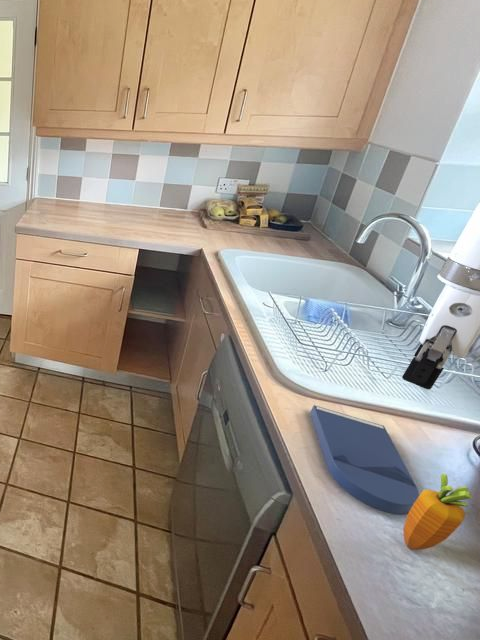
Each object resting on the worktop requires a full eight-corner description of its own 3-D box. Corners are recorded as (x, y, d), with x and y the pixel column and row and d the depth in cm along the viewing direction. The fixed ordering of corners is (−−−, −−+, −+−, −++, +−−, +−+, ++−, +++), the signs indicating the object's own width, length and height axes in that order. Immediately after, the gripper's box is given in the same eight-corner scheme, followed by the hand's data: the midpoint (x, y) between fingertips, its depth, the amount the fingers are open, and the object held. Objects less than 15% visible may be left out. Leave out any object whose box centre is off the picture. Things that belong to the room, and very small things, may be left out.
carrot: (385, 526, 69) (430, 463, 63) (426, 544, 67) (477, 481, 60) (391, 551, 66) (439, 487, 59) (435, 571, 63) (489, 507, 57)
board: (378, 434, 87) (384, 425, 86) (425, 526, 69) (433, 516, 68) (309, 413, 92) (313, 404, 91) (336, 494, 74) (342, 484, 73)
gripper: (516, 305, 52) (446, 409, 59) (523, 272, 61) (462, 364, 68) (432, 282, 57) (377, 379, 64) (450, 254, 67) (401, 342, 74)
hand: (421, 371), depth 66 cm, fingers open, 9 cm apart
